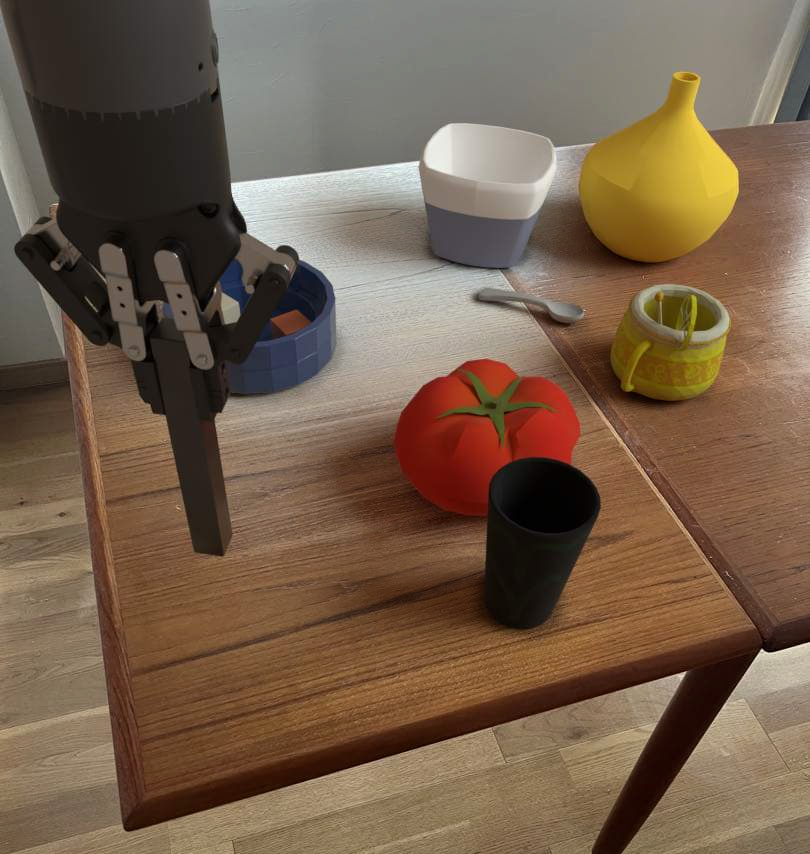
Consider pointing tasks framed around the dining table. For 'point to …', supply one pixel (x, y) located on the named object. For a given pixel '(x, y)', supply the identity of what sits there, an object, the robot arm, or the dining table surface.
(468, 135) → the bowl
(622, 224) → the vase
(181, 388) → the stick
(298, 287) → the bowl
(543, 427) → the tomato
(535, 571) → the cup
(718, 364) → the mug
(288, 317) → the block
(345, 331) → the dining table surface
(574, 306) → the spoon
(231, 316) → the block
